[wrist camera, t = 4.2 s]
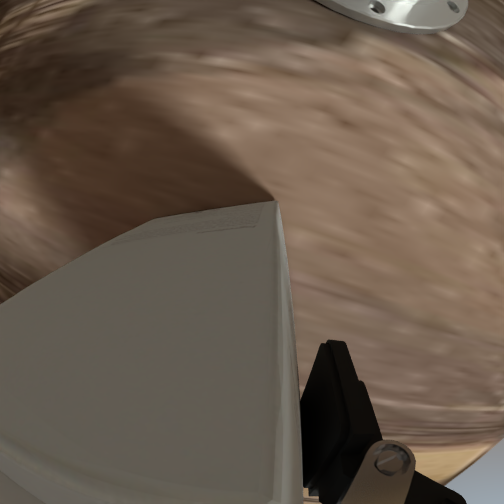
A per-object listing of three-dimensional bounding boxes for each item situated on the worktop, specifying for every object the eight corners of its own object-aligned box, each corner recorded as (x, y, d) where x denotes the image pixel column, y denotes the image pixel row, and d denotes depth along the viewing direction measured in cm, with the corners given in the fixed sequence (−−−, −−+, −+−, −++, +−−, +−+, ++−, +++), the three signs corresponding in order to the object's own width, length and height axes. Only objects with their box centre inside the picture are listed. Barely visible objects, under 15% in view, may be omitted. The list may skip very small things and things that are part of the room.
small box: (152, 217, 14) (-95, 361, 2) (279, 197, 13) (311, 520, 1) (187, 353, 16) (99, 556, 4) (296, 346, 15) (307, 591, 3)
